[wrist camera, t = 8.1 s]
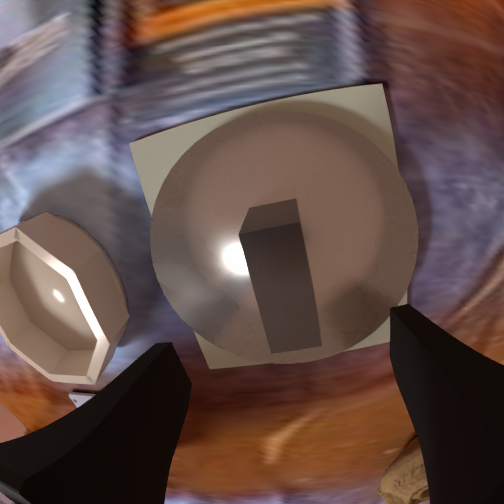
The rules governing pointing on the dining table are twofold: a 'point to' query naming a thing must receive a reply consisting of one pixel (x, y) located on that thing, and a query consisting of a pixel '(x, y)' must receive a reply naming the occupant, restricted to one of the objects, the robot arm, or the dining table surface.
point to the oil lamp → (405, 477)
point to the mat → (319, 103)
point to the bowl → (60, 299)
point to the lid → (284, 237)
